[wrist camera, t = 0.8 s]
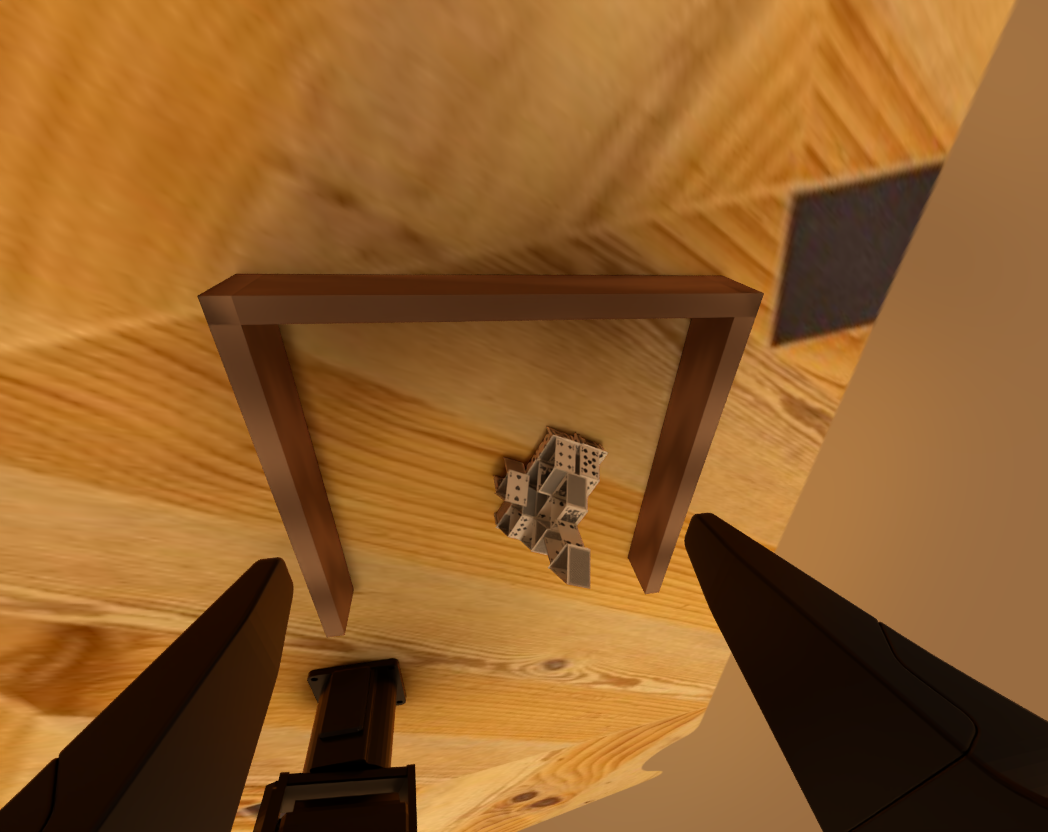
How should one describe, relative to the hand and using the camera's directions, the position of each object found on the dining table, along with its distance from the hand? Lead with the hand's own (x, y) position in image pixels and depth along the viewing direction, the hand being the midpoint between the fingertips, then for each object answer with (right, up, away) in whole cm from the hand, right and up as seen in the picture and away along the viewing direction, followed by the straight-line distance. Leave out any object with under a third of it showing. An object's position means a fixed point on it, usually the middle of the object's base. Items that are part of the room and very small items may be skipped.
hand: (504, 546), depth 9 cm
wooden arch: (-1, +1, +14) cm, 14 cm away
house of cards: (0, +1, +15) cm, 15 cm away
